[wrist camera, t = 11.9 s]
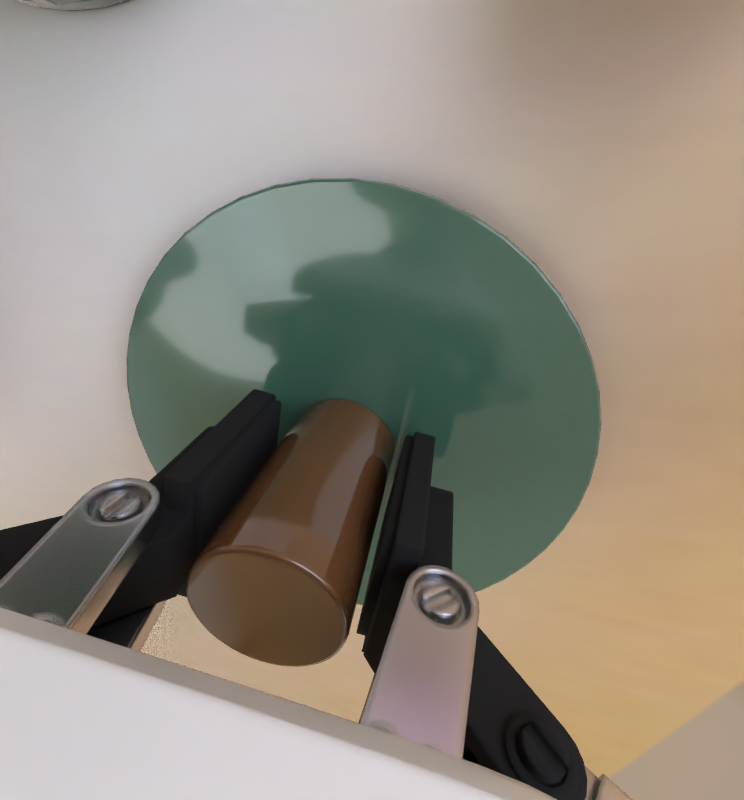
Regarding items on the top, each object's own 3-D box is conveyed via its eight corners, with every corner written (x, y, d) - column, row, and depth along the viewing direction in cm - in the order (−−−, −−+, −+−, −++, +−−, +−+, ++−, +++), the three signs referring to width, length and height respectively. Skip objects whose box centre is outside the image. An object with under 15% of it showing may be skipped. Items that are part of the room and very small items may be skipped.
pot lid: (135, 127, 10) (-285, 43, 5) (692, 248, 9) (1083, 345, 4) (162, 522, 17) (2, 699, 11) (495, 620, 16) (516, 875, 10)
